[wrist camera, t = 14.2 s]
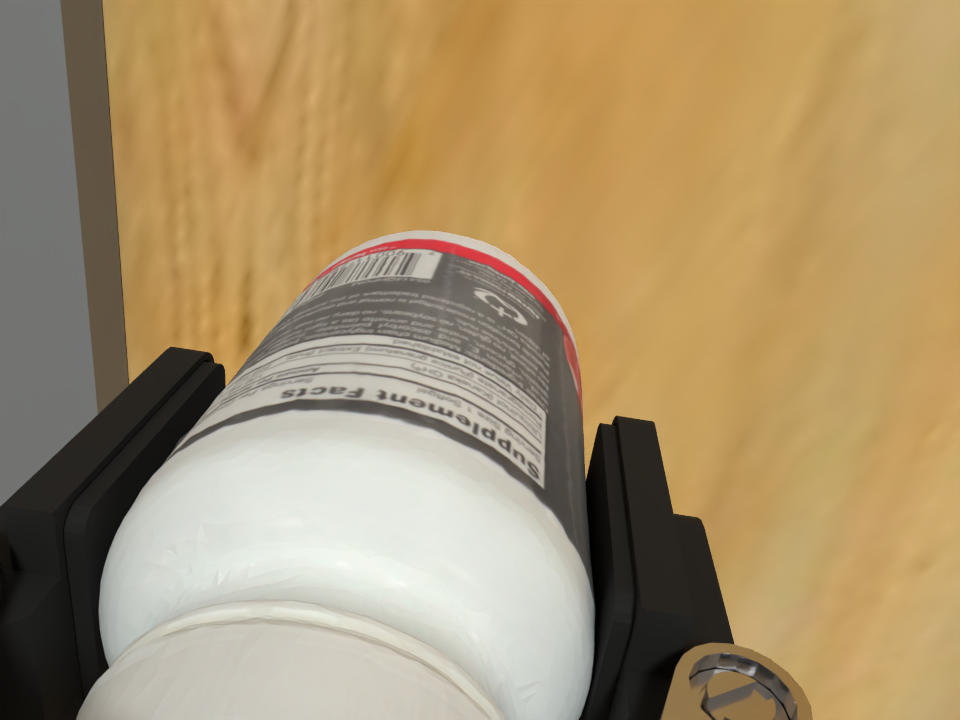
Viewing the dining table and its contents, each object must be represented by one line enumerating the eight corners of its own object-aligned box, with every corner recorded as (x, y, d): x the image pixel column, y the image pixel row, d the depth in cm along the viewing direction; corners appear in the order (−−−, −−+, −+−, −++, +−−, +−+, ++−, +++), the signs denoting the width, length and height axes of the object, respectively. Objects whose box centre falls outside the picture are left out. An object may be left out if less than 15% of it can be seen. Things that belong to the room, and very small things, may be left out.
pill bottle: (533, 515, 16) (501, 1167, 7) (273, 444, 16) (-79, 1025, 7) (623, 270, 14) (734, 800, 5) (318, 184, 14) (-127, 575, 5)
